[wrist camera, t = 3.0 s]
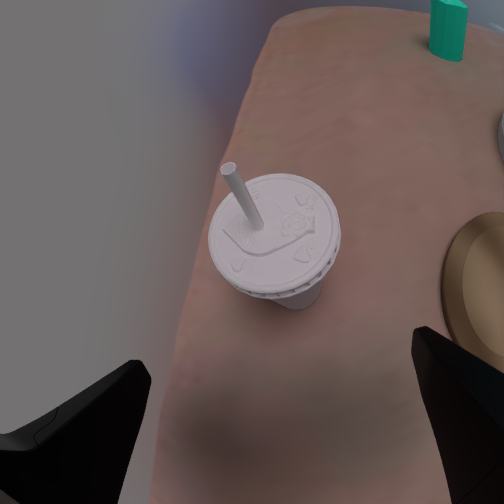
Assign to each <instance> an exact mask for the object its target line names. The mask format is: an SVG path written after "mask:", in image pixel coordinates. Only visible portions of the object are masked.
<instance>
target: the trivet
mask: <svg viewBox="0 0 504 504" xmlns="http://www.w3.org/2000/svg"><path fill="white" fill-rule="evenodd" d="M441 295H442V306H443V312H444V316H445V320H446V324H447V327H448V330H449V332H450V335H451V337H452V339H453V341H454V343H456V344H457V345H459V346H461V347H462V348H464V349H466V350H467V351H469V352H470V353H472V354H474V355H475V356H477V357H479V358H480V359H482V360H483V361H485V362H487V363H488V364H490V365H491V366H493V367H495V368H496V369H498V370H499V371H501V372H502V373H504V213H502V212H490V213H485V214H481V215H479V216H477V217H475V218H473V219H472V220H470V221H469V222H468V223H467V224H466V225H465V226H464V227H463V228H462V229H461V230H460V232H459V233H458V235H457V236H456V237H455V239H454V240H453V242H452V244H451V246H450V248H449V250H448V252H447V255H446V258H445V262H444V266H443V272H442V279H441Z"/></svg>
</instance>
